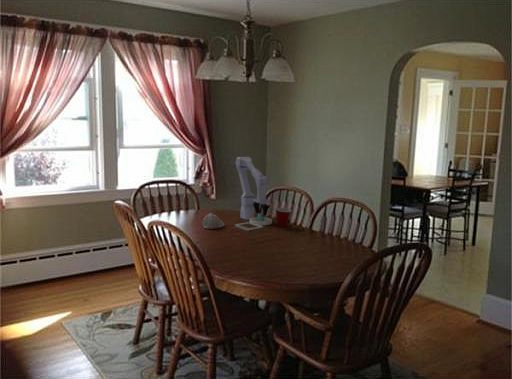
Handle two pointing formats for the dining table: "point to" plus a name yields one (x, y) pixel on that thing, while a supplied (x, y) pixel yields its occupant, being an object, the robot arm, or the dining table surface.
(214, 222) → the seashell
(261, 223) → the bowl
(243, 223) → the tray
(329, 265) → the dining table surface
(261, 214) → the cylinder
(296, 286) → the dining table surface
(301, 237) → the dining table surface
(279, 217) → the plastic cup
